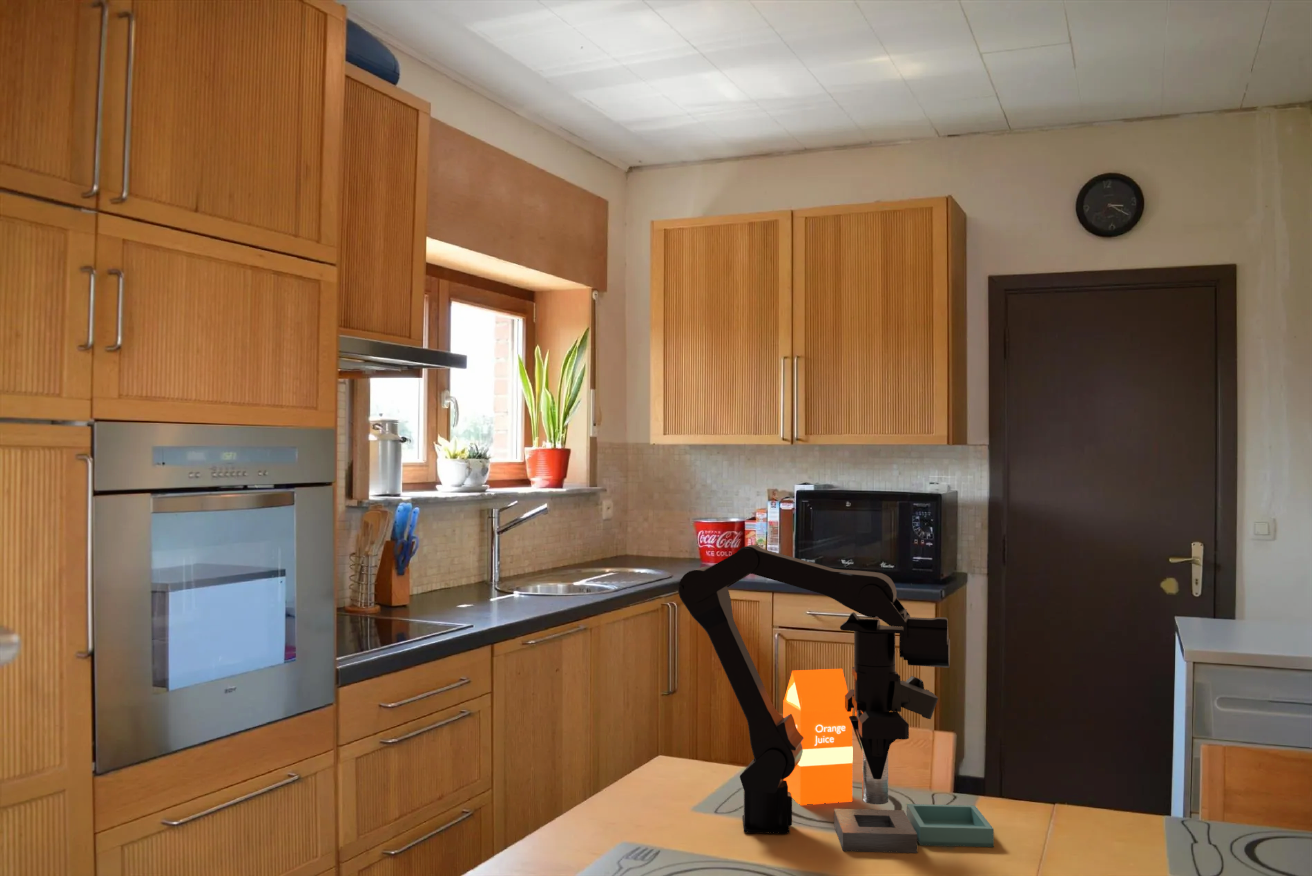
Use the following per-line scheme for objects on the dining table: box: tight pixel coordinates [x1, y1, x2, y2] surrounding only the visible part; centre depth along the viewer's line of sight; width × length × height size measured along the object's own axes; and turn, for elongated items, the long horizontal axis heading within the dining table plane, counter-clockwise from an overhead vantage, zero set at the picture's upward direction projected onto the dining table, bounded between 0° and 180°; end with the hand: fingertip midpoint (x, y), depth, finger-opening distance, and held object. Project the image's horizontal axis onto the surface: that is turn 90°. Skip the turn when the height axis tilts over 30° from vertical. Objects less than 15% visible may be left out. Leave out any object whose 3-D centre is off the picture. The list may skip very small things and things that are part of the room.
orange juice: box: [782, 668, 854, 806], centre depth 166 cm, size 8×9×20 cm
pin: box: [861, 748, 889, 805], centre depth 147 cm, size 4×4×8 cm
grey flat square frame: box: [833, 808, 918, 854], centre depth 147 cm, size 10×10×2 cm
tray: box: [906, 803, 995, 848], centre depth 149 cm, size 10×10×2 cm
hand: (875, 774), depth 147 cm, fingers closed on pin, 4 cm apart
